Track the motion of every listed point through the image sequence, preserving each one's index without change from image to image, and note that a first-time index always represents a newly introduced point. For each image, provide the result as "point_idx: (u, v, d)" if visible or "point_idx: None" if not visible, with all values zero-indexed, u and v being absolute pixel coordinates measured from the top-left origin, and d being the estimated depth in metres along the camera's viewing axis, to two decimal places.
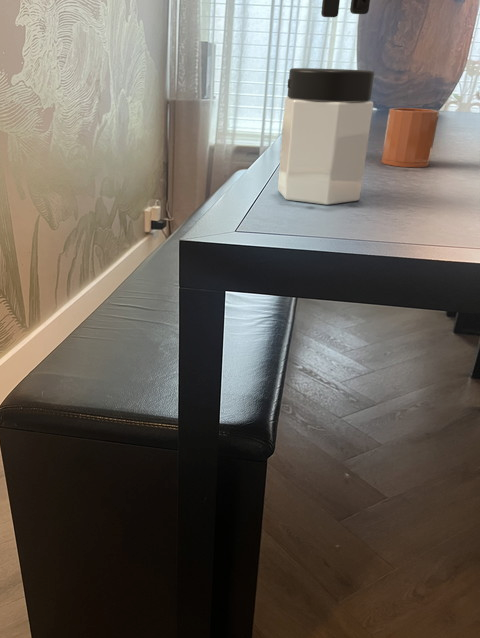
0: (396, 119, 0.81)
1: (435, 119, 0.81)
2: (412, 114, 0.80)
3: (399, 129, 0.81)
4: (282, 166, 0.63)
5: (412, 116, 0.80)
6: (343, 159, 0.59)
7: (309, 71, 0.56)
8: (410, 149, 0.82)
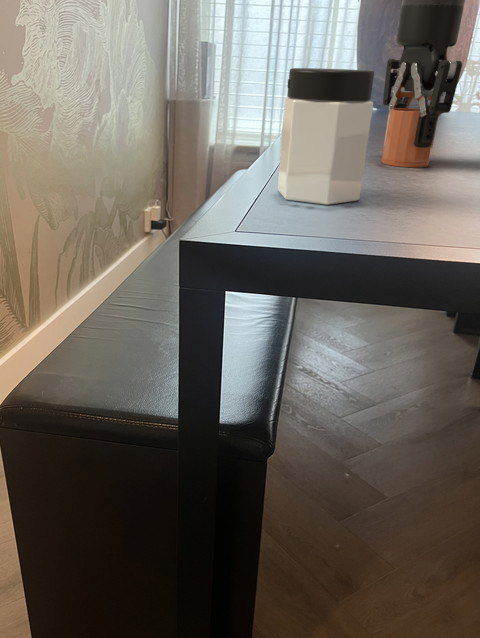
0: (396, 119, 0.81)
1: None
2: (412, 114, 0.80)
3: (399, 129, 0.81)
4: (282, 166, 0.63)
5: (412, 116, 0.80)
6: (343, 159, 0.59)
7: (309, 71, 0.56)
8: (410, 149, 0.82)
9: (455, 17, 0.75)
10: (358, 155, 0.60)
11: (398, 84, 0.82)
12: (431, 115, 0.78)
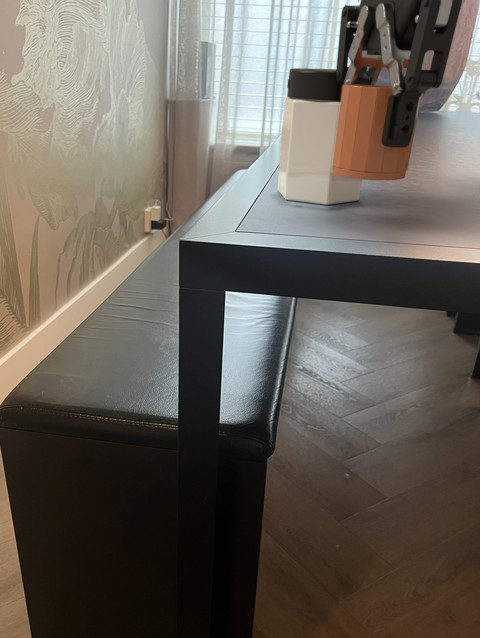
0: (351, 100, 0.49)
1: None
2: (377, 92, 0.48)
3: (355, 116, 0.49)
4: (282, 166, 0.63)
5: (377, 95, 0.48)
6: None
7: (309, 71, 0.56)
8: (374, 150, 0.49)
9: None
10: None
11: (357, 44, 0.50)
12: (409, 93, 0.46)
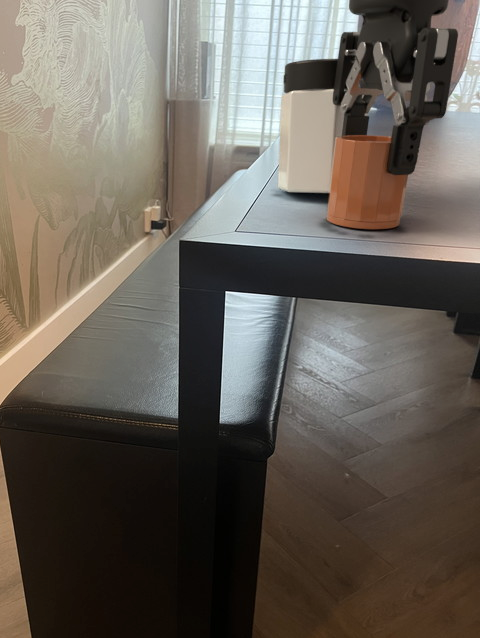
0: (345, 154, 0.50)
1: None
2: (369, 146, 0.49)
3: (349, 169, 0.51)
4: (282, 161, 0.63)
5: (370, 149, 0.49)
6: None
7: (305, 61, 0.57)
8: (368, 201, 0.51)
9: None
10: None
11: (354, 75, 0.52)
12: (413, 123, 0.47)
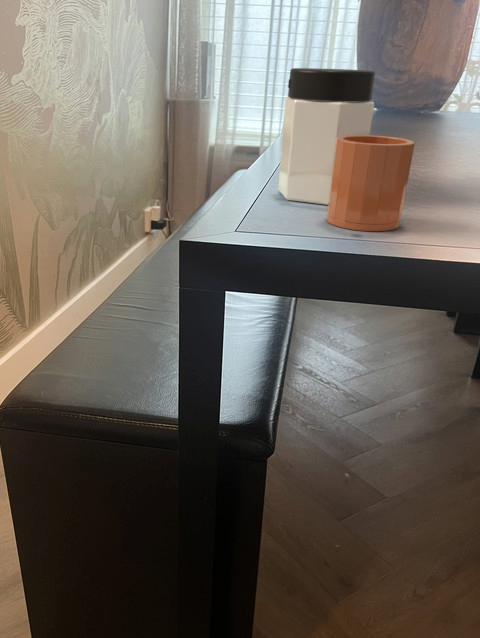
0: (345, 155, 0.50)
1: (408, 156, 0.50)
2: (370, 148, 0.49)
3: (349, 171, 0.50)
4: (283, 166, 0.63)
5: (370, 151, 0.49)
6: None
7: (310, 71, 0.56)
8: (368, 203, 0.51)
9: None
10: None
11: None
12: None
